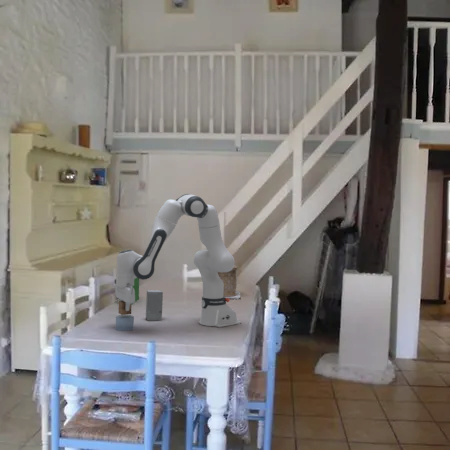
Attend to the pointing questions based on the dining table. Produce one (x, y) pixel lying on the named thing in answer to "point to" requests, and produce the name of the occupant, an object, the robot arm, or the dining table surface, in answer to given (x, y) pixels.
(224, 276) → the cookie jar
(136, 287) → the hardback book
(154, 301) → the skincare box
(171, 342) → the dining table surface
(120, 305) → the walnut block
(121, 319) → the canister
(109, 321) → the dining table surface
